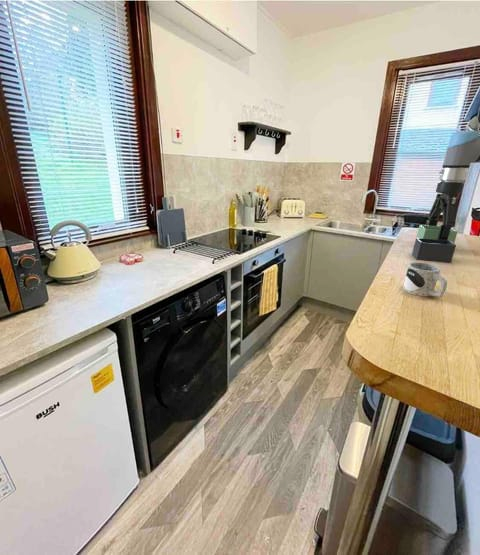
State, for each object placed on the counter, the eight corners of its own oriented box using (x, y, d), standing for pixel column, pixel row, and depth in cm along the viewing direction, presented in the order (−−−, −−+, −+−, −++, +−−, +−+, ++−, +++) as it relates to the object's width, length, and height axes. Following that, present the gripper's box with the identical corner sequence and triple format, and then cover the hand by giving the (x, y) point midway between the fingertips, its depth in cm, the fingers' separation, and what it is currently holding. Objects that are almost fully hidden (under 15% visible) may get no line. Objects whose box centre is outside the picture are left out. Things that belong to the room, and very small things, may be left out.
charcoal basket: (444, 256, 96) (449, 240, 93) (450, 262, 90) (456, 245, 88) (411, 254, 99) (416, 237, 96) (416, 259, 93) (420, 242, 91)
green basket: (443, 247, 107) (449, 226, 103) (451, 252, 100) (457, 231, 96) (414, 244, 109) (419, 225, 106) (419, 250, 102) (425, 229, 99)
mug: (397, 286, 73) (402, 263, 70) (417, 284, 74) (423, 261, 72) (429, 304, 64) (437, 278, 61) (452, 300, 65) (460, 275, 63)
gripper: (428, 179, 107) (415, 232, 115) (452, 183, 85) (433, 248, 93) (450, 179, 105) (435, 233, 113) (480, 183, 83) (459, 250, 91)
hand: (434, 240), depth 103 cm, fingers open, 13 cm apart
